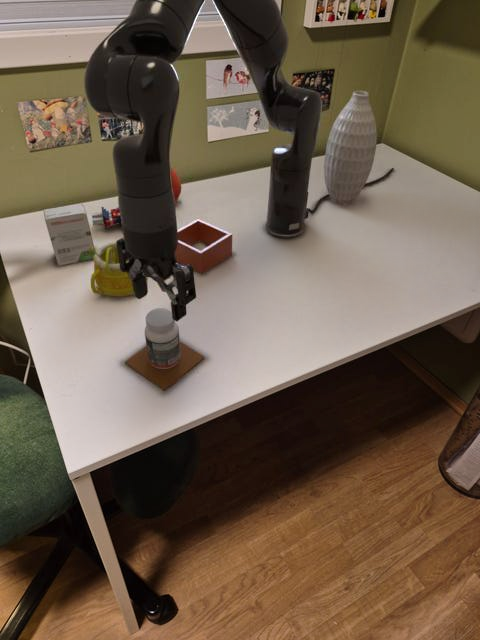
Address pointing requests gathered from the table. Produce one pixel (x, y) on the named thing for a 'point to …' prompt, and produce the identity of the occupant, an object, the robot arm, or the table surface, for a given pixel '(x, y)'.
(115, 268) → the mug
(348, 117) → the vase
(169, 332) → the pill bottle
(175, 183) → the red egg-shaped piece
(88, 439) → the table surface
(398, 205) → the table surface
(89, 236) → the ink box
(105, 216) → the figurine
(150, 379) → the cork pad
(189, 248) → the planter
